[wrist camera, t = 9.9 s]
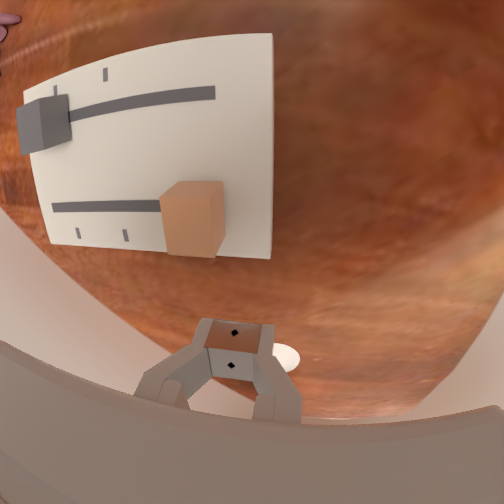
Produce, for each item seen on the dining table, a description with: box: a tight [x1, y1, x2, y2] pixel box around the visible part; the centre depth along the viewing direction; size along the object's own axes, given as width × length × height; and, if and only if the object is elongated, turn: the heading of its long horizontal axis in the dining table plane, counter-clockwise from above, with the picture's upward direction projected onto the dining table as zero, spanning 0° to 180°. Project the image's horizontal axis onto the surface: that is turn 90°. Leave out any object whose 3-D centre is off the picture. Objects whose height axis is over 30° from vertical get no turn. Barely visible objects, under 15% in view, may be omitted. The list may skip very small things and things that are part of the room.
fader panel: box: [24, 33, 274, 259], centre depth 25 cm, size 28×20×2 cm
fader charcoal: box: [16, 94, 71, 156], centre depth 20 cm, size 4×5×4 cm
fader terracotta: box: [159, 181, 226, 258], centre depth 23 cm, size 4×5×4 cm
